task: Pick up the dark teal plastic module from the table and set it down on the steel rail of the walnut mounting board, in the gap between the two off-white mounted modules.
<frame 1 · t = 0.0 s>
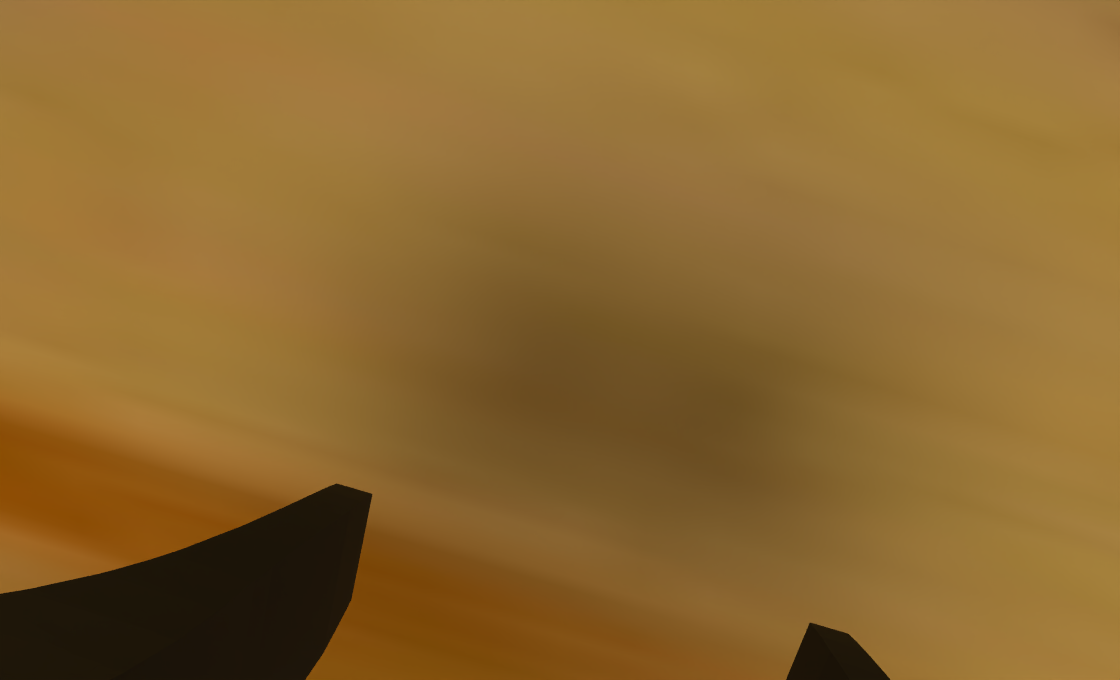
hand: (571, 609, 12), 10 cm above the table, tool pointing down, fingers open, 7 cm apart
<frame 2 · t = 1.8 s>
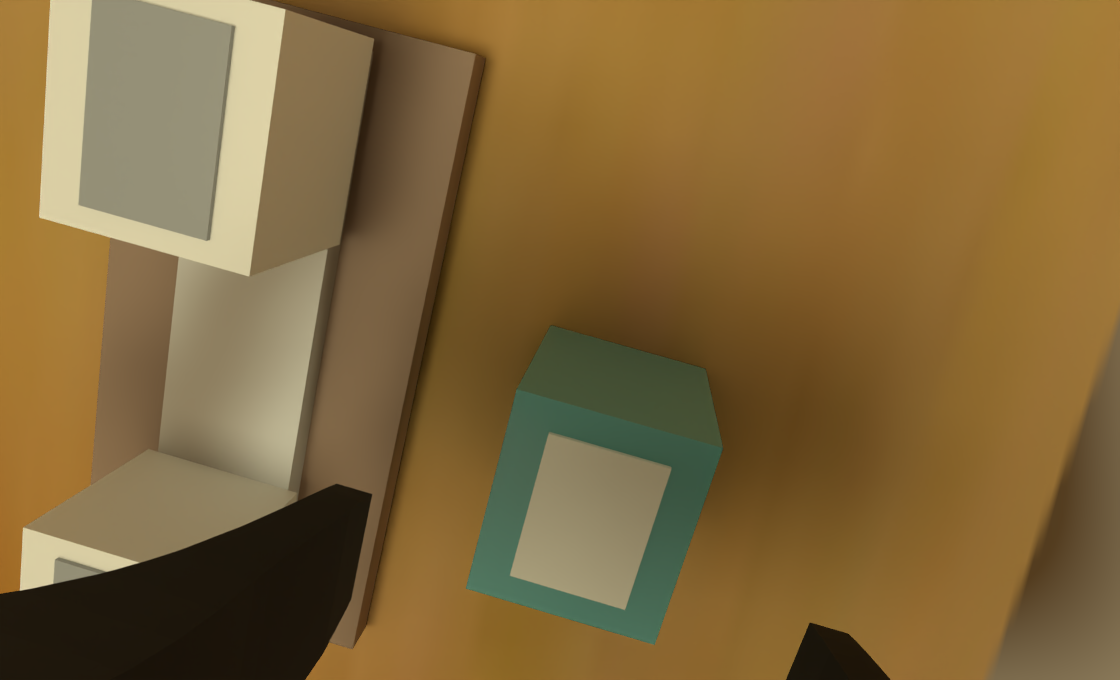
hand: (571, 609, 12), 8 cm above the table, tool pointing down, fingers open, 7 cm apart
mounted module 1: (270, 122, 17), resting on mounting board
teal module: (604, 426, 20), on the table
mounted module 2: (212, 546, 20), resting on mounting board
mounting board: (273, 333, 20), on the table
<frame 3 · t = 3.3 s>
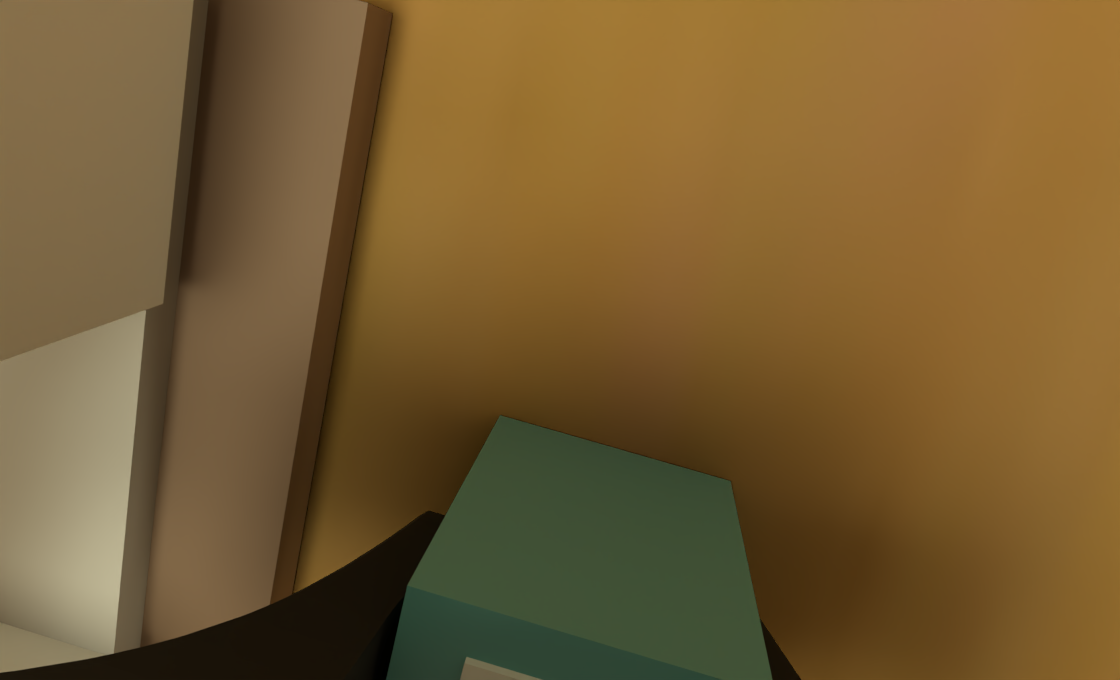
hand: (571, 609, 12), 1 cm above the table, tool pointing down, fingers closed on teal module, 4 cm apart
mounted module 1: (43, 112, 11), resting on mounting board
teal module: (580, 560, 13), on the table, touching gripper
mounting board: (102, 421, 14), on the table
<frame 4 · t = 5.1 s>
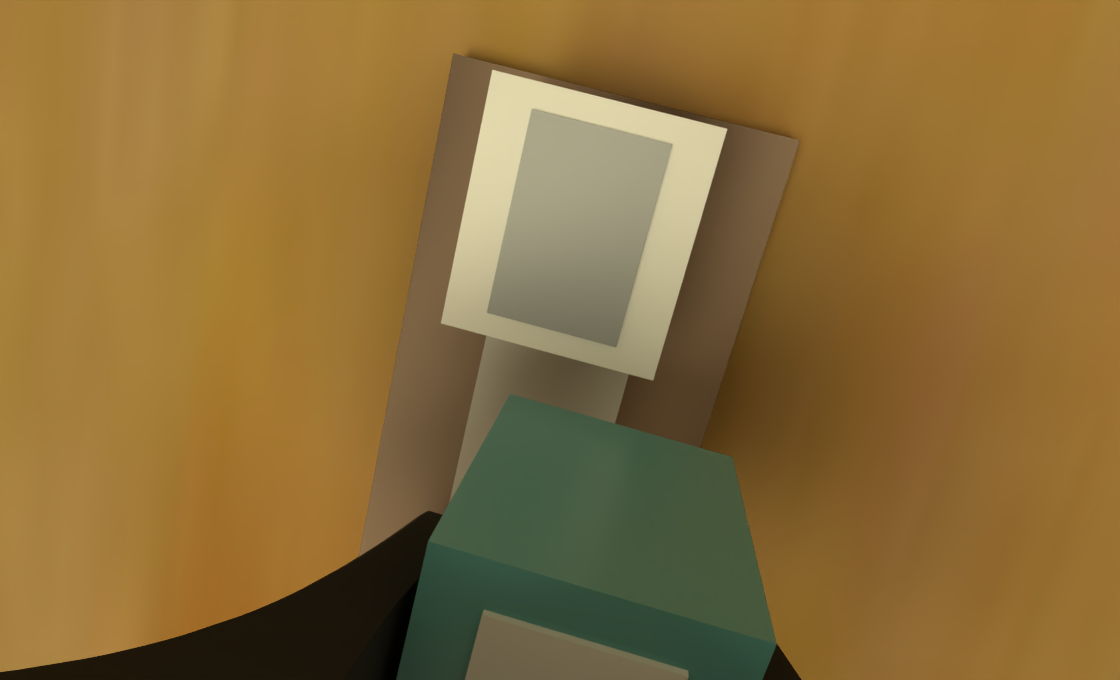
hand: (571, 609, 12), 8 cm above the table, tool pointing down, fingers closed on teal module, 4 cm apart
mounted module 1: (594, 209, 17), resting on mounting board
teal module: (587, 535, 14), point 6 cm above the table, touching gripper
mounting board: (548, 404, 20), on the table
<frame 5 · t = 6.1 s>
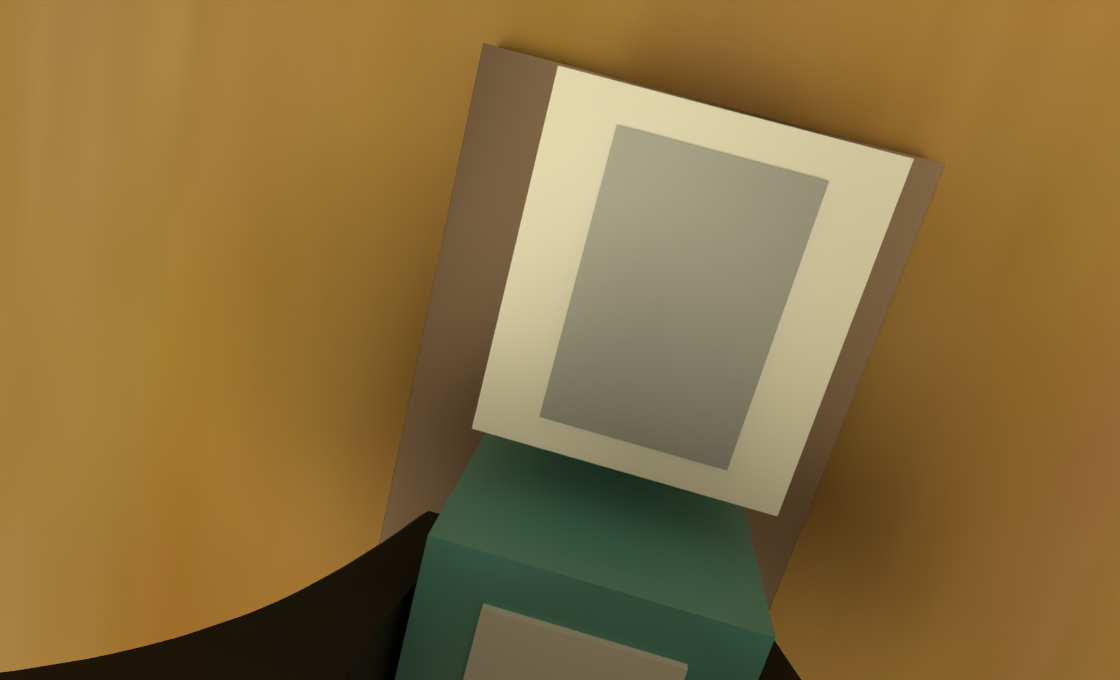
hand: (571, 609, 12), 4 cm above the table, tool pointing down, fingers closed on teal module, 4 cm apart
mounted module 1: (669, 252, 13), resting on mounting board
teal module: (586, 531, 14), point 2 cm above the table, touching gripper
mounting board: (593, 488, 16), on the table
when the fingers open (4 cm above the table, at t = 6.8 s): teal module stays where it is, resting on mounting board.
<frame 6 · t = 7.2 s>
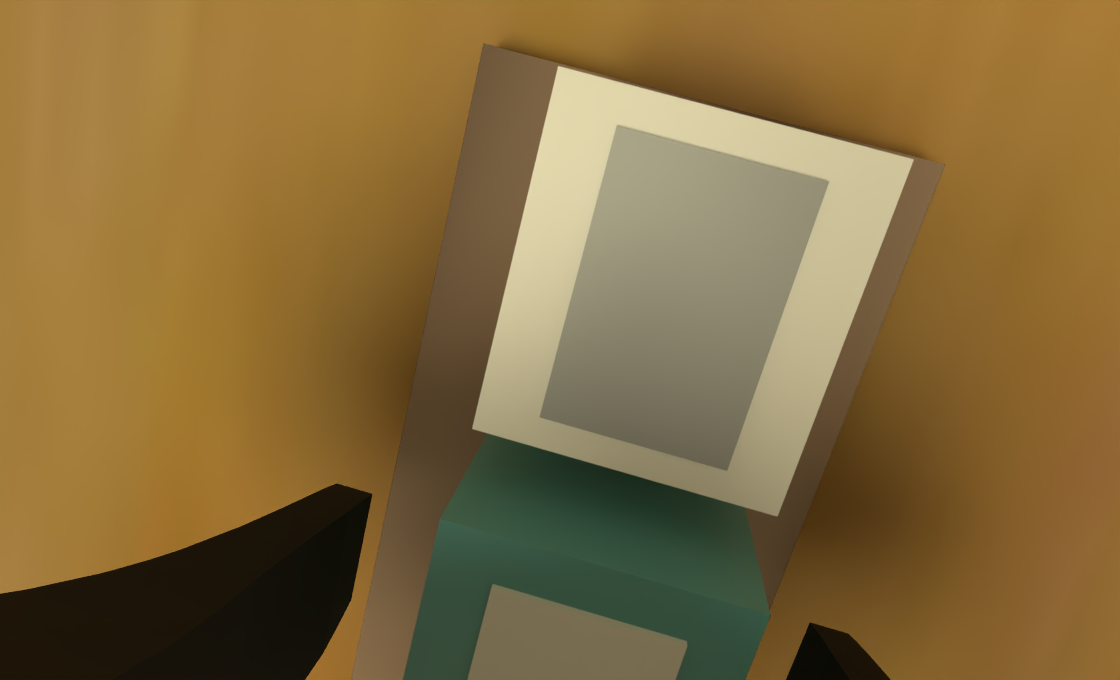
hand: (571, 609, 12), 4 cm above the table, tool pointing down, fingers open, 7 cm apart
mounted module 1: (669, 252, 13), resting on mounting board
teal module: (590, 520, 14), point 2 cm above the table, touching mounting board
mounting board: (593, 489, 16), on the table
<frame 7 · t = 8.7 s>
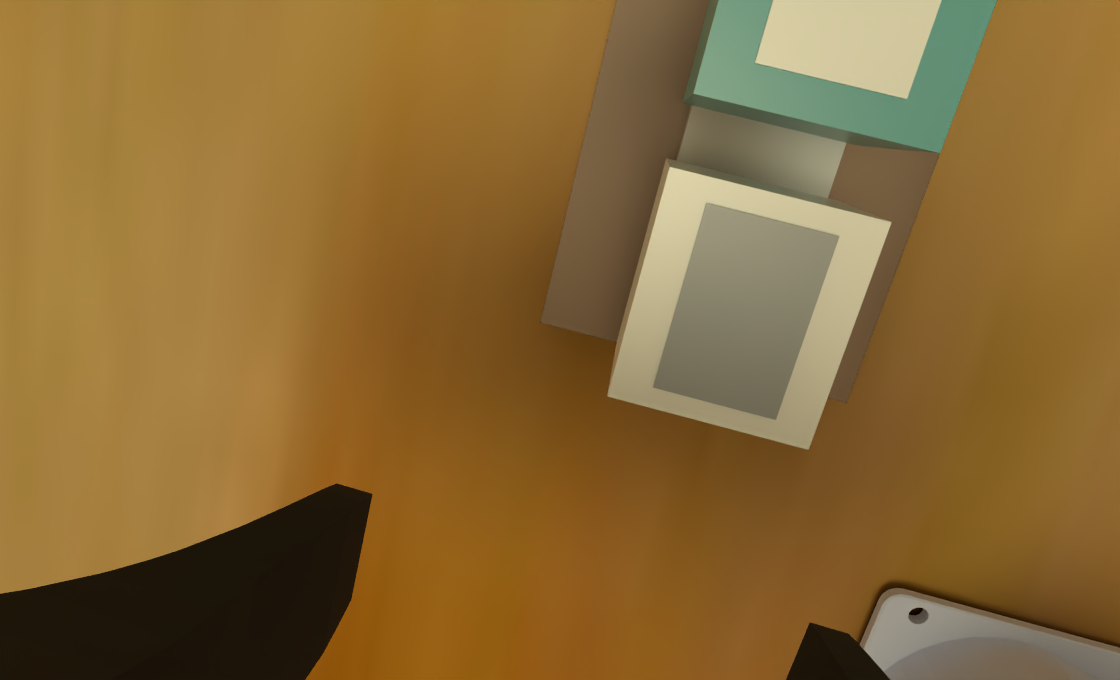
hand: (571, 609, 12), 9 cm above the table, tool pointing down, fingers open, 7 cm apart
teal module: (802, 17, 16), point 2 cm above the table, touching mounting board
mounted module 2: (723, 273, 18), resting on mounting board
mounting board: (784, 38, 18), on the table
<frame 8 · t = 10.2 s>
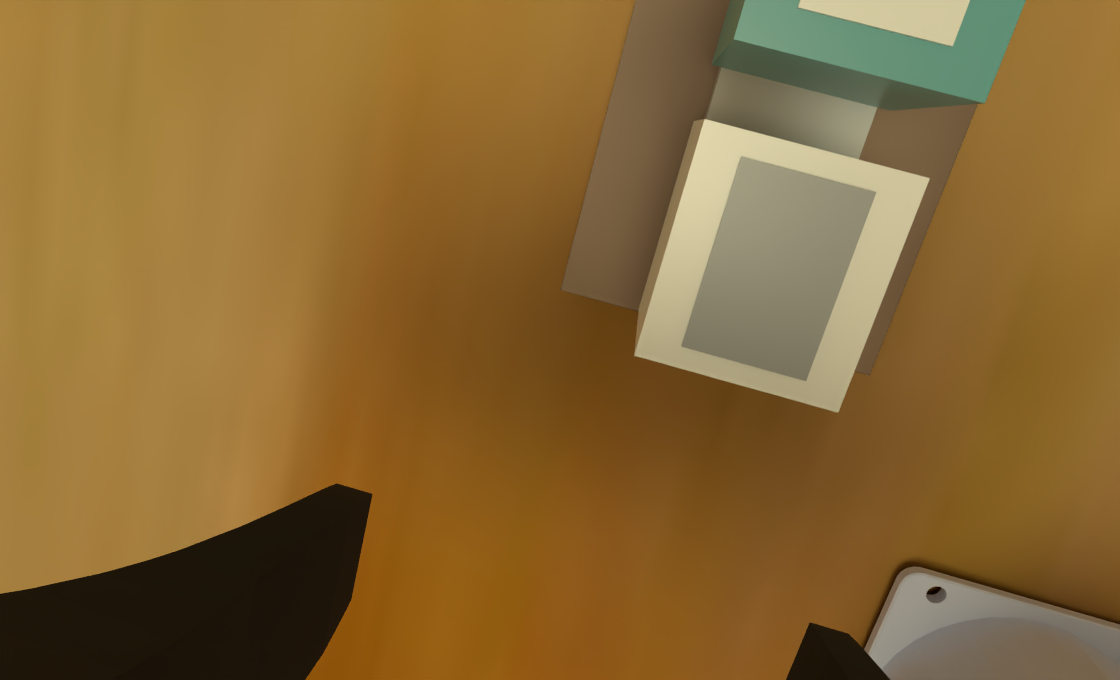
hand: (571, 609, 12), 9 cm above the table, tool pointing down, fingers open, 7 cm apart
mounted module 2: (748, 240, 18), resting on mounting board
mounting board: (814, 3, 18), on the table
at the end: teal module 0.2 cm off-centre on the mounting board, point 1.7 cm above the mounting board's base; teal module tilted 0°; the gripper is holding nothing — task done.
